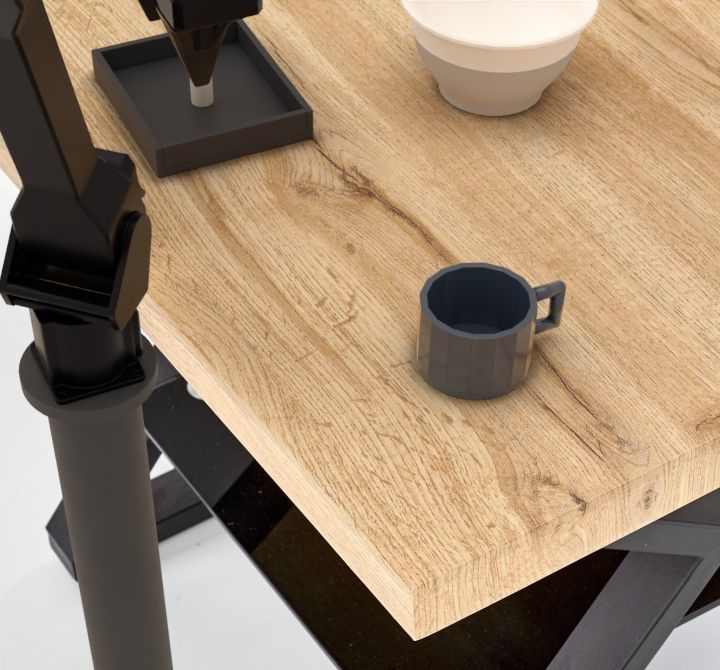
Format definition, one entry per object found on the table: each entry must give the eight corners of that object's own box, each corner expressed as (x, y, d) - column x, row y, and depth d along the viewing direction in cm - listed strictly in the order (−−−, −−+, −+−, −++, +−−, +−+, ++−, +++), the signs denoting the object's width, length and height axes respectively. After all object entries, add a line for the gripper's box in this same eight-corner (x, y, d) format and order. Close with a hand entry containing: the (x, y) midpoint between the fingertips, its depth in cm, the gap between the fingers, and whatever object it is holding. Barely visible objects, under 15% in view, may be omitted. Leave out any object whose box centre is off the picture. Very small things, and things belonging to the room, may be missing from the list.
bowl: (406, 146, 126) (410, 50, 119) (385, 37, 136) (388, -56, 130) (603, 137, 127) (618, 42, 120) (567, 31, 137) (579, -62, 131)
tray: (158, 178, 122) (155, 150, 120) (94, 77, 131) (90, 49, 129) (313, 138, 126) (313, 110, 124) (241, 43, 135) (240, 15, 133)
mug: (448, 413, 106) (453, 351, 102) (397, 341, 110) (400, 280, 106) (586, 368, 109) (596, 307, 105) (530, 301, 113) (538, 239, 109)
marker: (195, 110, 127) (186, -16, 119) (186, 97, 128) (177, -28, 120) (218, 104, 128) (211, -21, 120) (209, 91, 129) (201, -34, 121)
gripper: (336, -126, 97) (335, 94, 109) (224, -246, 108) (233, -34, 120) (167, -92, 94) (184, 131, 106) (68, -218, 105) (94, -3, 117)
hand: (178, 51), depth 112 cm, fingers open, 9 cm apart
